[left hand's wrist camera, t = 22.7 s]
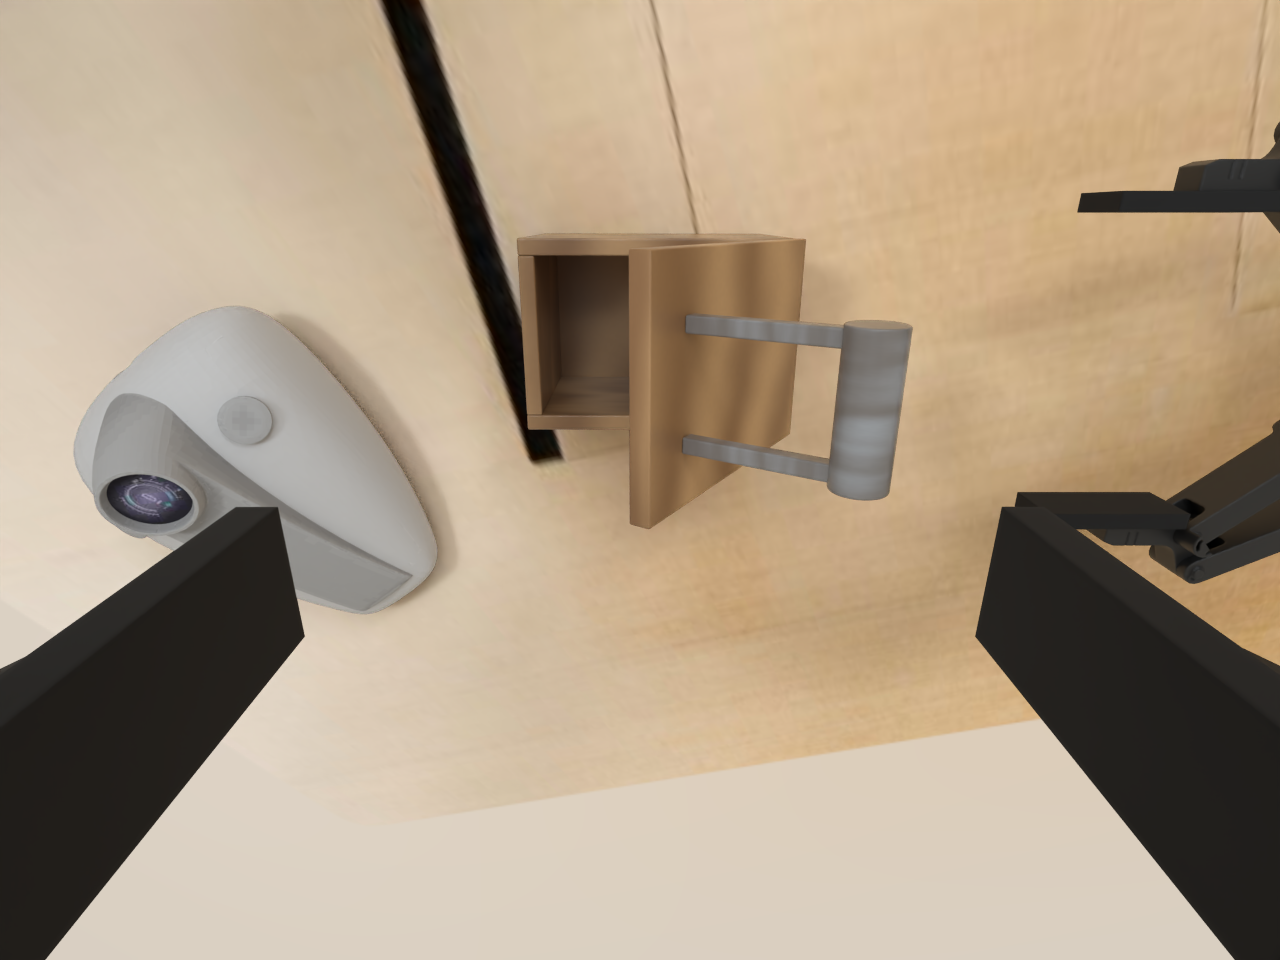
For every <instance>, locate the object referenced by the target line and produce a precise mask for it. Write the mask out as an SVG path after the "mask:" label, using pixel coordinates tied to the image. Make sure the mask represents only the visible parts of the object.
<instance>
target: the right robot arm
mask: <svg viewBox="0 0 1280 960" xmlns="http://www.w3.org/2000/svg"><path fill="white" fill-rule="evenodd" d="M1274 139H1275V142H1276V144H1275V145H1274V147H1273V148H1272V150H1271V151H1270V152H1269V153H1268V154H1267V155H1266V156H1265V157H1263V158H1262V159H1218V160H1208V161H1198V162H1192V163H1189V164H1187V165H1184V166H1182V167H1179V171H1178V175H1177V179H1176V183H1175V187H1174V191H1114V192H1097V193H1081V198H1080V202H1079V207H1078V212H1263V213H1264V214H1265V215H1266V217H1267V218H1268V219H1269V220H1270V222H1271V223H1272V224H1273V225H1274V227H1275V228H1276V229H1277V230H1278V232H1279V233H1280V122H1279V123H1278V125H1277V127H1276V129H1275V132H1274ZM1272 428H1273V433H1272V434H1271V435H1269V436H1267V437H1266V438H1264V439H1263V440H1261V441H1260V442H1258V443H1256V444H1255V445H1253V446H1252V447H1250V448H1249V449H1247V450H1245V451H1244V452H1242V453H1241V454H1239V455H1237V456H1236V457H1234V458H1233V459H1231V460H1230V461H1228V462H1226V463H1225V464H1223V465H1222V466H1220V467H1219V468H1217V469H1215V470H1214V471H1212V472H1211V473H1209V474H1208V475H1206V476H1204V477H1203V478H1201V479H1200V480H1198V481H1196V482H1195V483H1193V484H1192V485H1190V486H1189V487H1187V488H1185V489H1184V490H1182V491H1181V492H1179V493H1178V494H1176V495H1174V496H1173V497H1171V498H1170V499H1168V500H1167V501H1165V500H1163V499H1161V498H1159V497H1157V496H1155V495H1154V494H1152V493H1150V492H1018V493H1017V498H1016V503H1015V507H1045V508H1046V509H1048V510H1049V511H1051V512H1052V513H1053V514H1055V515H1056V516H1058V517H1059V518H1061V519H1062V520H1063V521H1065V522H1066V523H1068V524H1069V525H1070V526H1072V527H1073V528H1075V529H1086V530H1088V531H1089V532H1091V533H1092V534H1094V535H1095V536H1096V537H1098V538H1099V539H1101V540H1102V541H1104V542H1106V543H1108V544H1111V545H1152V546H1151V547H1150V550H1149V555H1150V557H1151V558H1152V559H1154V560H1155V561H1157V562H1158V563H1159V564H1161V565H1162V566H1164V567H1165V568H1167V569H1168V570H1170V571H1171V572H1173V573H1174V574H1176V575H1177V576H1179V577H1181V578H1182V579H1184V580H1185V581H1187V582H1188V583H1192V584H1196V583H1200V582H1202V581H1205V580H1208V579H1210V578H1213V577H1215V576H1218V575H1221V574H1223V573H1226V572H1228V571H1231V570H1234V569H1236V568H1239V567H1242V566H1244V565H1247V564H1249V563H1252V562H1255V561H1257V560H1260V559H1262V558H1265V557H1268V556H1270V555H1273V554H1275V553H1278V552H1280V420H1279V421H1277V422H1276V423H1275V424H1274V425H1273V427H1272ZM1189 520H1190V521H1189Z"/></svg>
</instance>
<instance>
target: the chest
mask: <svg viewBox="0 0 1280 960" xmlns="http://www.w3.org/2000/svg"><path fill="white" fill-rule="evenodd" d="M777 239H793V238H786V237H778V236H771V235H763V234H541V235H535V236H529V237H522V238H518V239H517V249H518V255H520V256H518V266H519V283H520V300H521V317H522V334H523V350H524V367H525V384H526V401H527V414H528V416H527V417H528V429H619V430H629V249H631V248H647V247H663V246H679V245H696V244H712V243H728V242H744V241H761V240H777Z"/></svg>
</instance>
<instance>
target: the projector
mask: <svg viewBox="0 0 1280 960" xmlns="http://www.w3.org/2000/svg"><path fill="white" fill-rule="evenodd" d="M74 459H75V464H76V468H77V470H78V472H79V474H80V476H81V478H82V480H83V482H84V483H85V484H86V486H87V487H88V488H89V490H90V491H91V493H92V494H93V495H94V500H95V504H96V507H97V509H98V511H99V512H100V514H101V515H102V516H103V517H104V518H105V519H106V520H108V521H109V522H110V523H112V524H113V525H115V526H116V527H117V528H119V529H120V530H122V531H123V532H125V533H127V534H129V535H131V536H133V537H137V538H145V537H146V536H147V537H149V538H151V539H152V540H154V541H156V542H157V543H159V544H161V545H163V546H165V547H167V548H169V549H171V550H173V551H175V550H176V549H177V548H179V547H180V546H182V545H183V544H184V543H186V542H187V541H189V540H190V539H191V538H193V537H194V536H196V535H197V534H198V533H200V532H201V531H203V530H204V529H205V528H207V527H208V526H210V525H211V524H212V523H214V522H215V521H217V520H218V519H219V518H221V517H222V516H224V515H225V514H227V513H228V512H229V511H231V510H232V509H234V508H235V507H278V509H279V514H280V519H281V524H282V529H283V533H284V538H285V543H286V548H287V553H288V558H289V563H290V567H291V572H292V577H293V582H294V587H295V592H296V597H297V598H298V599H301V600H304V601H308V602H311V603H314V604H318V605H322V606H325V607H329V608H333V609H337V610H341V611H346V612H350V613H356V614H371V613H375V612H378V611H380V610H382V609H384V608H386V607H388V606H390V605H392V604H393V603H395V602H396V601H398V600H399V599H401V598H402V597H404V596H405V595H407V594H408V593H409V592H411V591H412V590H413V589H415V588H416V587H417V586H419V585H420V584H421V583H422V582H423V581H424V580H425V579H426V578H427V577H428V576H429V575H430V573H431V572H432V570H433V569H434V566H435V564H436V560H437V553H438V548H437V543H436V540H435V537H434V534H433V531H432V528H431V526H430V523H429V521H428V519H427V516H426V514H425V512H424V510H423V508H422V506H421V504H420V502H419V500H418V498H417V496H416V494H415V492H414V490H413V488H412V486H411V485H410V483H409V481H408V479H407V477H406V475H405V474H404V472H403V470H402V469H401V467H400V465H399V464H398V462H397V460H396V459H395V457H394V455H393V454H392V452H391V451H390V449H389V448H388V446H387V445H386V443H385V442H384V440H383V439H382V437H381V436H380V435H379V433H378V432H377V430H376V429H375V428H374V426H373V425H372V423H371V422H370V421H369V419H368V418H367V417H366V415H365V414H364V413H363V412H362V410H361V409H360V408H359V406H358V405H357V404H356V402H355V401H354V400H353V399H352V397H351V396H350V395H349V394H348V393H347V391H346V390H345V389H344V388H343V387H342V385H341V384H340V383H339V382H338V381H337V379H336V378H335V377H334V376H333V375H332V374H331V373H330V371H329V370H328V369H327V368H326V367H325V366H324V365H323V364H322V362H321V361H320V360H319V359H318V358H317V357H316V356H315V355H314V354H313V353H312V352H311V351H310V350H309V349H308V348H307V347H306V346H305V345H304V344H303V343H302V342H301V341H300V340H299V339H298V338H297V337H296V336H295V335H294V334H292V333H291V332H290V331H289V330H288V329H286V328H285V327H284V326H283V325H281V324H280V323H279V322H277V321H276V320H274V319H273V318H271V317H270V316H268V315H266V314H264V313H262V312H260V311H258V310H255V309H252V308H247V307H242V306H227V307H221V308H217V309H212V310H209V311H206V312H203V313H200V314H198V315H196V316H194V317H191V318H189V319H187V320H185V321H184V322H182V323H180V324H179V325H177V326H175V327H174V328H173V329H171V330H170V331H168V332H167V333H165V334H164V335H163V336H161V337H160V338H159V339H158V340H156V341H155V342H154V343H153V344H151V345H150V346H149V347H148V348H147V349H145V350H144V351H143V352H142V353H140V354H139V355H138V356H137V357H136V358H135V359H134V361H133V362H132V363H131V365H130V366H129V367H128V368H126V369H125V370H124V371H122V372H120V373H119V374H118V375H117V376H116V377H115V378H114V379H113V380H112V381H111V382H110V383H109V384H108V385H107V386H106V387H105V388H104V389H103V391H102V392H101V393H100V394H99V395H98V396H97V398H96V399H95V400H94V402H93V403H92V404H91V406H90V407H89V408H88V410H87V412H86V413H85V415H84V417H83V419H82V421H81V423H80V426H79V428H78V431H77V434H76V438H75V442H74Z"/></svg>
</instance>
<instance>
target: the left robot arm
mask: <svg viewBox="0 0 1280 960" xmlns="http://www.w3.org/2000/svg"><path fill="white" fill-rule="evenodd" d="M304 637H305V635H304V631H303V626H302V621H301V616H300V611H299V606H298V601H297V597H296V592H295V587H294V582H293V577H292V572H291V567H290V563H289V558H288V553H287V548H286V543H285V538H284V533H283V529H282V524H281V519H280V514H279V509H278V507H235V508H234V509H232V510H231V511H229V512H228V513H227V514H225V515H224V516H222V517H221V518H219V519H218V520H217V521H215V522H214V523H212V524H211V525H210V526H208V527H207V528H205V529H204V530H203V531H201V532H200V533H198V534H197V535H196V536H194V537H193V538H191V539H190V540H189V541H187V542H186V543H184V544H183V545H182V546H180V547H179V548H177V549H176V550H175V551H173V552H172V553H170V554H169V555H168V556H166V557H165V558H163V559H162V560H161V561H159V562H158V563H156V564H155V565H154V566H152V567H151V568H149V569H148V570H147V571H145V572H144V573H142V574H141V575H140V576H138V577H137V578H135V579H134V580H133V581H131V582H130V583H128V584H127V585H126V586H124V587H123V588H121V589H120V590H119V591H117V592H116V593H114V594H113V595H112V596H110V597H109V598H107V599H106V600H105V601H103V602H102V603H100V604H99V605H97V606H96V607H95V608H93V609H92V610H90V611H89V612H88V613H86V614H85V615H83V616H82V617H81V618H79V619H78V620H76V621H75V622H74V623H72V624H71V625H69V626H68V627H67V628H65V629H64V630H62V631H61V632H60V633H58V634H57V635H55V636H54V637H53V638H51V639H50V640H48V641H47V642H46V643H44V644H43V645H41V646H40V647H39V648H37V649H36V650H34V651H33V652H32V653H30V654H29V655H27V656H26V657H24V658H22V659H20V660H18V661H16V662H14V663H12V664H10V665H7V666H5V667H3V668H1V669H0V960H45V959H46V958H47V957H48V956H49V954H50V953H51V952H52V951H53V949H54V948H55V947H56V946H57V944H58V943H59V942H60V941H61V939H62V938H63V937H64V936H65V935H66V933H67V932H68V931H69V930H70V928H71V927H72V926H73V925H74V923H75V922H76V921H77V920H78V918H79V917H80V916H81V915H82V913H83V912H84V911H85V910H86V908H87V907H88V906H89V905H90V903H91V902H92V901H93V900H94V898H95V897H96V896H97V895H98V893H99V892H100V891H101V890H102V888H103V887H104V886H105V885H106V883H107V882H108V881H109V880H110V878H111V877H112V876H113V875H114V873H115V872H116V871H117V870H118V869H119V867H120V866H121V865H122V864H123V862H124V861H125V860H126V859H127V857H128V856H129V855H130V854H131V852H132V851H133V850H134V849H135V847H136V846H137V845H138V844H139V842H140V841H141V840H142V839H143V837H144V836H145V835H146V834H147V832H148V831H149V830H150V829H151V827H152V826H153V825H154V824H155V822H156V821H157V820H158V819H159V817H160V816H161V815H162V814H163V812H164V811H165V810H166V809H167V807H168V806H169V805H170V804H171V802H172V801H173V800H174V799H175V797H176V796H177V795H178V794H179V792H180V791H181V790H182V789H183V788H184V786H185V785H186V784H187V783H188V781H189V780H190V779H191V777H192V776H193V775H194V774H195V773H196V771H197V770H198V769H199V768H200V766H201V765H202V764H203V763H204V761H205V760H206V759H207V758H208V756H209V755H210V754H211V753H212V751H213V750H214V749H215V748H216V746H217V745H218V744H219V743H220V741H221V740H222V739H223V738H224V736H225V735H226V734H227V733H228V731H229V730H230V729H231V728H232V726H233V725H234V724H235V723H236V721H237V720H238V719H239V718H240V716H241V715H242V714H243V713H244V711H245V710H246V709H247V708H248V707H249V705H250V704H251V703H252V702H253V700H254V699H255V698H256V697H257V695H258V694H259V693H260V692H261V690H262V689H263V688H264V687H265V685H266V684H267V683H268V682H269V680H270V679H271V678H272V677H273V675H274V674H275V673H276V672H277V670H278V669H279V668H280V667H281V665H282V664H283V663H284V662H285V660H286V659H287V658H288V657H289V655H290V654H291V653H292V652H293V650H294V649H295V648H296V647H297V645H298V644H299V643H300V642H301V640H302V639H303V638H304ZM975 637H976V638H977V639H978V640H979V642H980V643H981V644H982V645H983V647H984V648H985V649H986V650H987V652H988V653H989V654H990V655H991V657H992V658H993V659H994V660H995V662H996V663H997V664H998V665H999V667H1000V668H1001V669H1002V670H1003V672H1004V673H1005V674H1006V675H1007V677H1008V678H1009V679H1010V680H1011V682H1012V683H1013V684H1014V685H1015V687H1016V688H1017V689H1018V690H1019V692H1020V693H1021V694H1022V695H1023V697H1024V698H1025V699H1026V700H1027V702H1028V703H1029V704H1030V705H1031V707H1032V708H1033V709H1034V710H1035V711H1036V713H1037V714H1038V715H1039V716H1040V718H1041V719H1042V720H1043V721H1044V723H1045V724H1046V725H1047V726H1048V728H1049V729H1050V730H1051V731H1052V733H1053V734H1054V735H1055V736H1056V738H1057V739H1058V740H1059V741H1060V743H1061V744H1062V745H1063V746H1064V748H1065V749H1066V750H1067V751H1068V753H1069V754H1070V755H1071V756H1072V758H1073V759H1074V760H1075V761H1076V763H1077V764H1078V765H1079V766H1080V768H1081V769H1082V770H1083V771H1084V773H1085V774H1086V775H1087V776H1088V778H1089V779H1090V780H1091V781H1092V782H1093V784H1094V785H1095V786H1096V787H1097V789H1098V790H1099V791H1100V792H1101V794H1102V795H1103V796H1104V797H1105V799H1106V800H1107V801H1108V802H1109V804H1110V805H1111V806H1112V807H1113V809H1114V810H1115V811H1116V812H1117V814H1118V815H1119V816H1120V817H1121V819H1122V820H1123V821H1124V822H1125V824H1126V825H1127V826H1128V827H1129V829H1130V830H1131V831H1132V832H1133V834H1134V835H1135V836H1136V837H1137V839H1138V840H1139V841H1140V842H1141V844H1142V845H1143V846H1144V847H1145V849H1146V850H1147V851H1148V852H1149V854H1150V855H1151V856H1152V857H1153V859H1154V860H1155V861H1156V862H1157V863H1158V865H1159V866H1160V867H1161V869H1162V870H1163V871H1164V872H1165V873H1166V875H1167V876H1168V877H1169V878H1170V880H1171V881H1172V882H1173V883H1174V885H1175V886H1176V887H1177V888H1178V890H1179V891H1180V892H1181V893H1182V895H1183V896H1184V897H1185V898H1186V900H1187V901H1188V902H1189V903H1190V905H1191V906H1192V907H1193V908H1194V910H1195V911H1196V912H1197V913H1198V915H1199V916H1200V917H1201V918H1202V920H1203V921H1204V922H1205V923H1206V925H1207V926H1208V927H1209V928H1210V930H1211V931H1212V932H1213V933H1214V935H1215V936H1216V937H1217V938H1218V940H1219V941H1220V942H1221V943H1222V945H1223V946H1224V947H1225V948H1226V950H1227V951H1228V952H1229V953H1230V954H1231V956H1232V957H1233V958H1234V959H1235V960H1280V666H1279V665H1277V664H1275V663H1273V662H1271V661H1269V660H1266V659H1264V658H1262V657H1260V656H1258V655H1256V654H1254V653H1252V652H1250V651H1248V650H1246V649H1243V648H1241V647H1240V646H1239V645H1237V644H1236V643H1234V642H1233V641H1232V640H1230V639H1229V638H1227V637H1226V636H1225V635H1223V634H1222V633H1220V632H1219V631H1218V630H1216V629H1215V628H1213V627H1212V626H1211V625H1209V624H1208V623H1206V622H1205V621H1204V620H1202V619H1201V618H1199V617H1198V616H1197V615H1195V614H1194V613H1192V612H1191V611H1190V610H1188V609H1187V608H1185V607H1184V606H1183V605H1181V604H1180V603H1178V602H1177V601H1175V600H1174V599H1173V598H1171V597H1170V596H1168V595H1167V594H1166V593H1164V592H1163V591H1161V590H1160V589H1159V588H1157V587H1156V586H1154V585H1153V584H1152V583H1150V582H1149V581H1147V580H1146V579H1145V578H1143V577H1142V576H1140V575H1139V574H1138V573H1136V572H1135V571H1133V570H1132V569H1131V568H1129V567H1128V566H1126V565H1125V564H1124V563H1122V562H1121V561H1119V560H1118V559H1117V558H1115V557H1114V556H1112V555H1111V554H1110V553H1108V552H1107V551H1105V550H1104V549H1103V548H1101V547H1100V546H1098V545H1097V544H1096V543H1094V542H1093V541H1091V540H1090V539H1089V538H1087V537H1086V536H1084V535H1083V534H1082V533H1080V532H1079V531H1077V530H1076V529H1075V528H1073V527H1072V526H1070V525H1069V524H1068V523H1066V522H1065V521H1063V520H1062V519H1061V518H1059V517H1058V516H1056V515H1055V514H1053V513H1052V512H1051V511H1049V510H1048V509H1046V508H1045V507H1002V509H1001V514H1000V519H999V524H998V529H997V533H996V538H995V543H994V548H993V553H992V558H991V563H990V567H989V572H988V577H987V582H986V587H985V592H984V597H983V601H982V606H981V611H980V616H979V621H978V626H977V631H976V635H975Z"/></svg>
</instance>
